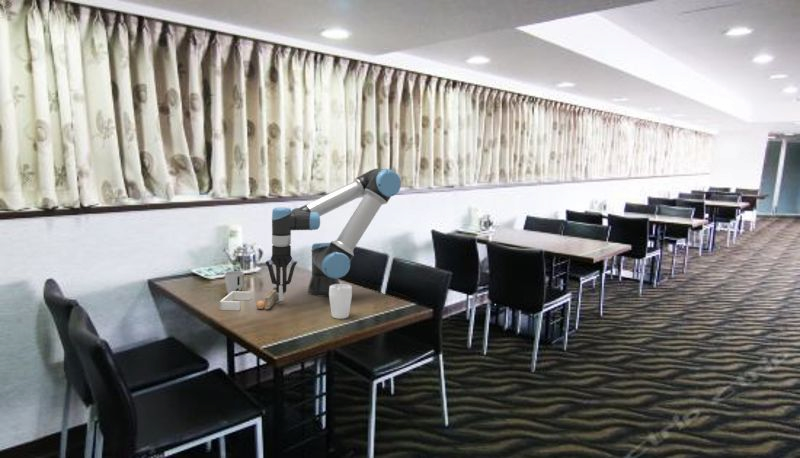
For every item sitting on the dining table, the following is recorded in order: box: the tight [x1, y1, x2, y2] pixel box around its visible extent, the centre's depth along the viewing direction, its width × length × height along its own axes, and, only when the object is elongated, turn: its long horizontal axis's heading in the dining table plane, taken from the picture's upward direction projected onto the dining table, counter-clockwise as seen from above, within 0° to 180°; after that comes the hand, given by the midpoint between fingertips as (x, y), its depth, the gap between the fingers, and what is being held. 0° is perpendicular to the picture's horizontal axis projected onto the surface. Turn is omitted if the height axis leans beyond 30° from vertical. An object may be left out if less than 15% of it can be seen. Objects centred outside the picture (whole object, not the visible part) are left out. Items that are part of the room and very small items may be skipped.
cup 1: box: [224, 270, 245, 295], centre depth 206 cm, size 8×8×10 cm
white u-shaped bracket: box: [218, 291, 252, 312], centre depth 193 cm, size 8×15×4 cm, turn 1°
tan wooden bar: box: [264, 286, 279, 310], centre depth 193 cm, size 3×14×5 cm, turn 1°
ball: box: [256, 300, 265, 310], centre depth 188 cm, size 4×4×4 cm
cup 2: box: [328, 283, 353, 320], centre depth 182 cm, size 9×9×12 cm
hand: (281, 299), depth 194 cm, fingers closed
